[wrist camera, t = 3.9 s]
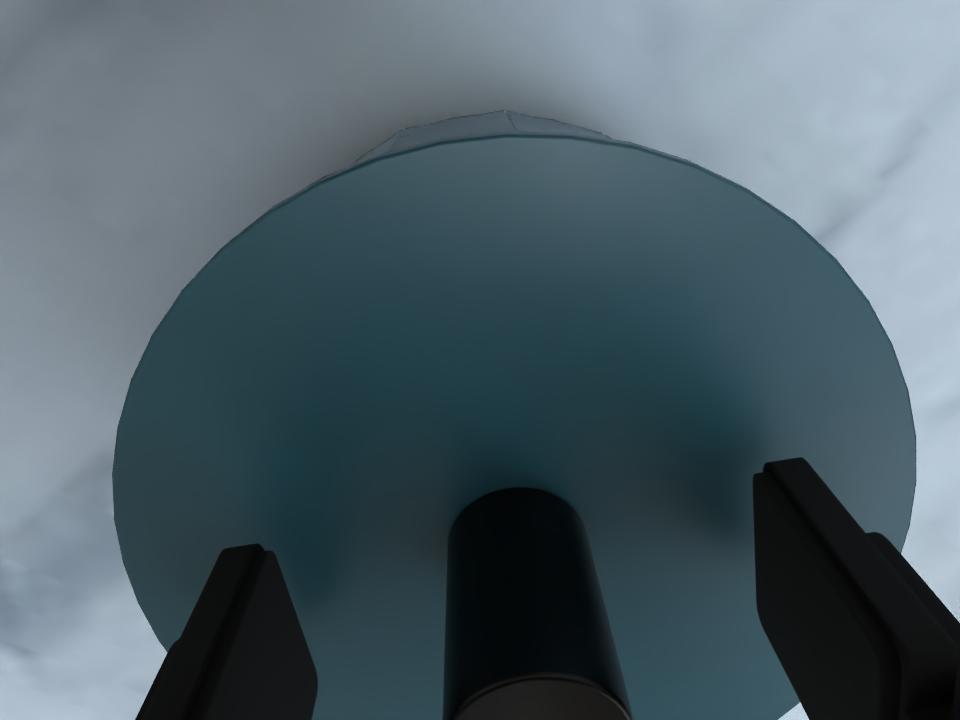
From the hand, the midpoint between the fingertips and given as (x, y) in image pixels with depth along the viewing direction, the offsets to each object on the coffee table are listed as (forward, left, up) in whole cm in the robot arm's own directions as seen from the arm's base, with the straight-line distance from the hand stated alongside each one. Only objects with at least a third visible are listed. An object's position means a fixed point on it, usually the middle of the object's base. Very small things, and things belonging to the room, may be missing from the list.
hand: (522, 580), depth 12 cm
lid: (0, 0, -1) cm, 1 cm away
